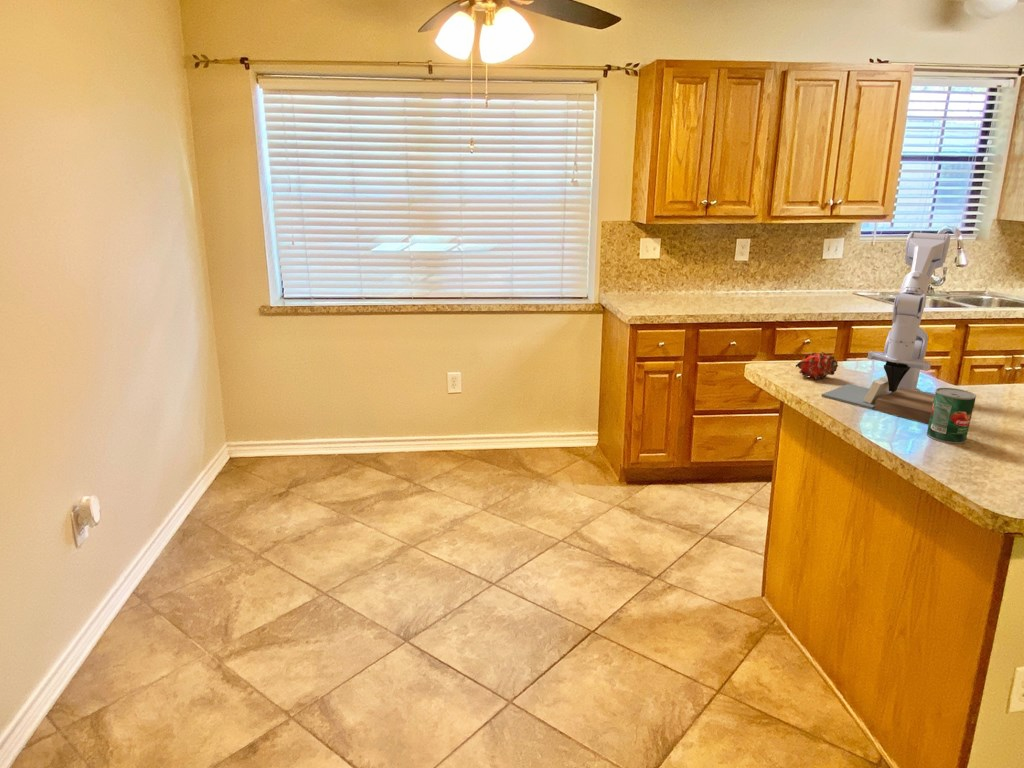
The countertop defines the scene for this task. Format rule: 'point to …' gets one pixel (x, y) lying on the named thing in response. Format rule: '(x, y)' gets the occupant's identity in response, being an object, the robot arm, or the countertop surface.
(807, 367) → the dragon fruit
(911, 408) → the brown wooden slab
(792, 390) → the countertop surface
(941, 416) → the canned tomato
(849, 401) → the mat
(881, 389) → the cream rectangular slab
